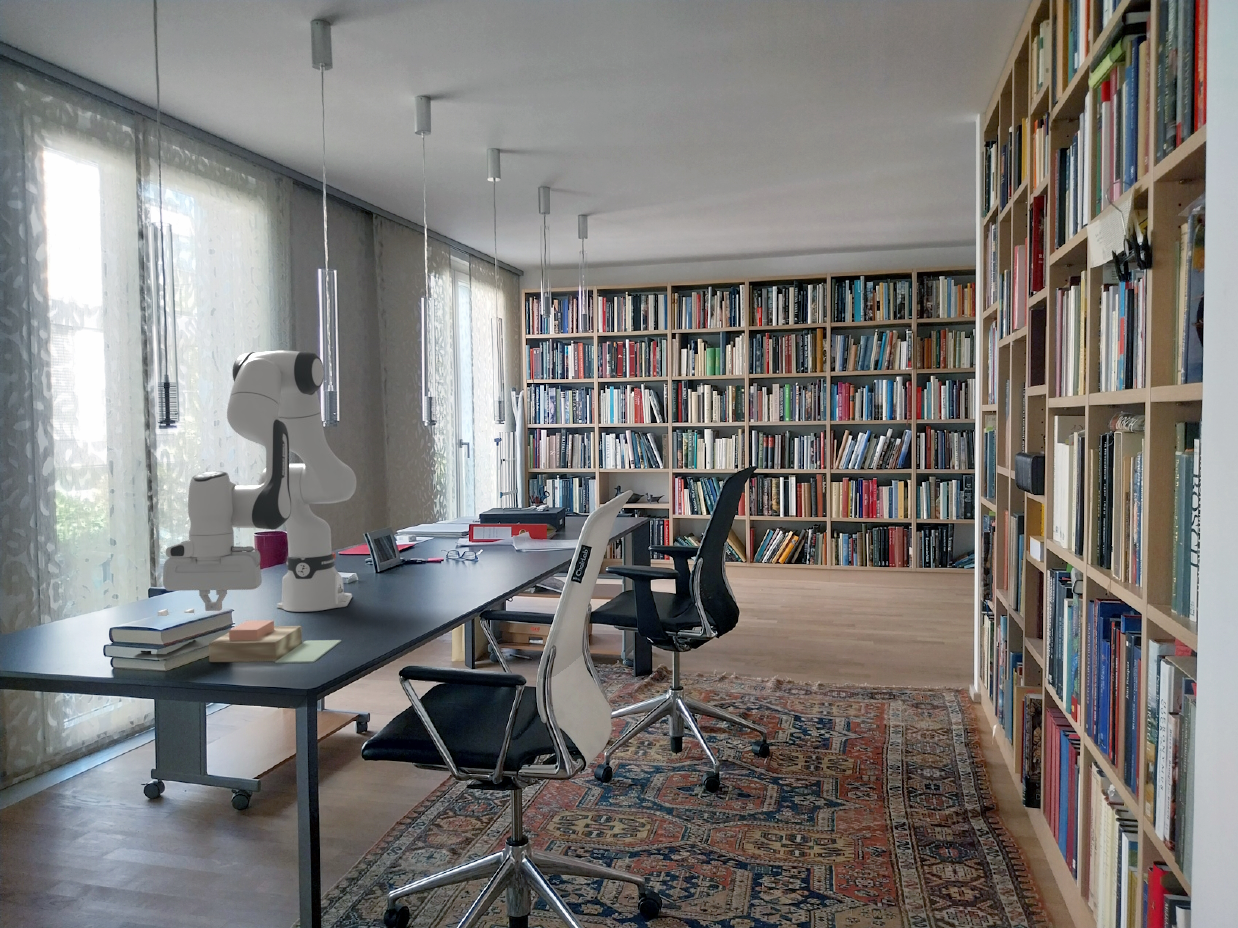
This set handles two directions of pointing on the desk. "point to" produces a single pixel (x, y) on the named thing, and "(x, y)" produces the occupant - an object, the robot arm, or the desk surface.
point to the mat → (308, 651)
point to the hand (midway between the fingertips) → (213, 610)
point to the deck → (256, 646)
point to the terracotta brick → (251, 630)
